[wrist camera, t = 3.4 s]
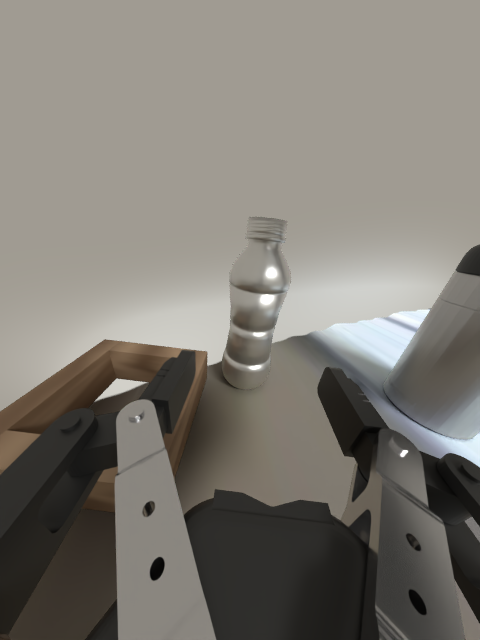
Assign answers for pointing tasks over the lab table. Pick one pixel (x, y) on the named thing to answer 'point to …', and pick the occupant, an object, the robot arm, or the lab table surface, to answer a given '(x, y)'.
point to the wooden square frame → (82, 390)
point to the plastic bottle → (255, 303)
